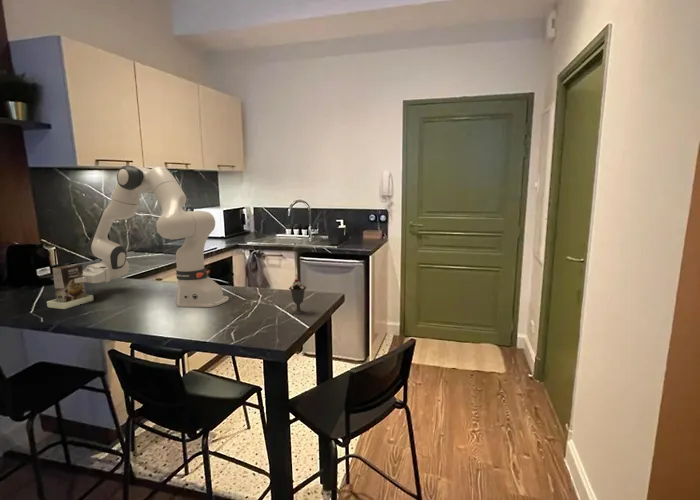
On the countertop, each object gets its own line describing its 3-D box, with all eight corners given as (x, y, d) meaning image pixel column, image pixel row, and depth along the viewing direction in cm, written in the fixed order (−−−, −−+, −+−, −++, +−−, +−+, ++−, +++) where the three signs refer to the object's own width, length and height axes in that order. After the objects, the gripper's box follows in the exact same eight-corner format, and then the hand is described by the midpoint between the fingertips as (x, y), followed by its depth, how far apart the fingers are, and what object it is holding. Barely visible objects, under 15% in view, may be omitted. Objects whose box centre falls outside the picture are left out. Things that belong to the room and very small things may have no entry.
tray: (93, 300, 183) (92, 295, 183) (64, 309, 171) (63, 303, 171) (76, 298, 187) (76, 293, 186) (47, 307, 174) (46, 301, 174)
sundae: (298, 308, 166) (297, 272, 164) (310, 312, 162) (309, 274, 160) (286, 313, 161) (284, 275, 159) (298, 316, 157) (296, 278, 155)
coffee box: (67, 305, 174) (62, 268, 171) (56, 304, 176) (51, 267, 173) (87, 300, 182) (82, 264, 180) (76, 298, 184) (71, 263, 182)
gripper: (77, 265, 192) (47, 271, 179) (110, 268, 185) (82, 274, 173) (79, 278, 193) (49, 286, 180) (112, 281, 186) (84, 289, 174)
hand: (65, 280), depth 176 cm, fingers open, 8 cm apart
